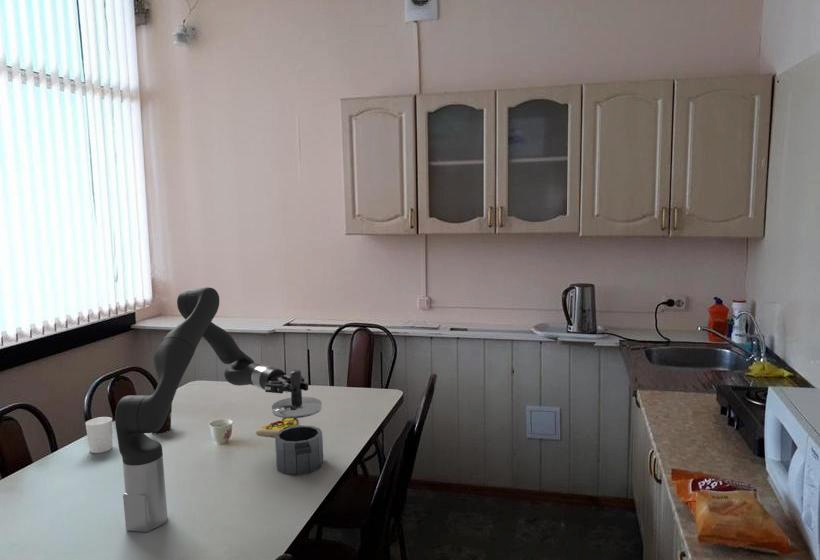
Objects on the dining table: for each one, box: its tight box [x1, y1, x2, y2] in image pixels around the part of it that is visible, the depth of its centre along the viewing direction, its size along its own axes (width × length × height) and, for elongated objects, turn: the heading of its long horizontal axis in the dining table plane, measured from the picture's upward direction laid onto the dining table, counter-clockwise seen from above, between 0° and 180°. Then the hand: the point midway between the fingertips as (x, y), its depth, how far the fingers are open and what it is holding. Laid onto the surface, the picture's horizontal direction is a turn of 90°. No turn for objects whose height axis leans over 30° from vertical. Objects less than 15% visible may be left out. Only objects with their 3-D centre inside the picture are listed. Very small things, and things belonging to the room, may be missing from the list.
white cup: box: [85, 416, 113, 454], centre depth 197 cm, size 8×8×10 cm
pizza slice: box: [255, 418, 298, 438], centre depth 215 cm, size 16×21×3 cm
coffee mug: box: [153, 403, 173, 435], centre depth 215 cm, size 12×9×10 cm
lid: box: [271, 369, 323, 419], centre depth 179 cm, size 15×15×12 cm
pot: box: [274, 424, 325, 476], centre depth 181 cm, size 20×14×10 cm
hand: (302, 388), depth 177 cm, fingers closed on lid, 3 cm apart
